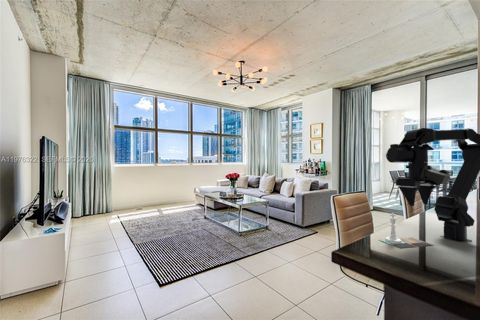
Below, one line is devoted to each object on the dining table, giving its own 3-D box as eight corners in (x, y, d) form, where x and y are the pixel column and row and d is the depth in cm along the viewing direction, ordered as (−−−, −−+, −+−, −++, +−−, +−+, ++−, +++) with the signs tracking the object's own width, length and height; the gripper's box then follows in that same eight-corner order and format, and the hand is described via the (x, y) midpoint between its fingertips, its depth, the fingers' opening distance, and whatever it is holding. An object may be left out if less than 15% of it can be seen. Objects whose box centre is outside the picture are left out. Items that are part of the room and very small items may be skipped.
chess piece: (404, 244, 76) (404, 214, 76) (388, 243, 77) (388, 213, 77) (397, 239, 80) (397, 211, 81) (382, 238, 81) (382, 211, 82)
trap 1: (407, 244, 76) (407, 243, 76) (415, 247, 74) (415, 246, 74) (392, 245, 75) (392, 244, 75) (400, 248, 72) (400, 247, 72)
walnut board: (412, 239, 83) (411, 237, 83) (436, 247, 75) (436, 245, 75) (377, 241, 80) (377, 240, 80) (399, 250, 72) (399, 248, 72)
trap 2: (424, 242, 78) (424, 242, 78) (433, 245, 75) (433, 244, 75) (410, 243, 77) (410, 243, 77) (418, 246, 74) (418, 246, 74)
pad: (394, 239, 82) (394, 238, 82) (406, 243, 77) (406, 242, 77) (379, 240, 80) (379, 239, 80) (390, 244, 76) (390, 244, 76)
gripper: (431, 162, 71) (432, 211, 71) (458, 162, 79) (459, 206, 79) (394, 162, 81) (395, 205, 80) (421, 163, 89) (422, 202, 89)
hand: (418, 205), depth 82 cm, fingers open, 9 cm apart
